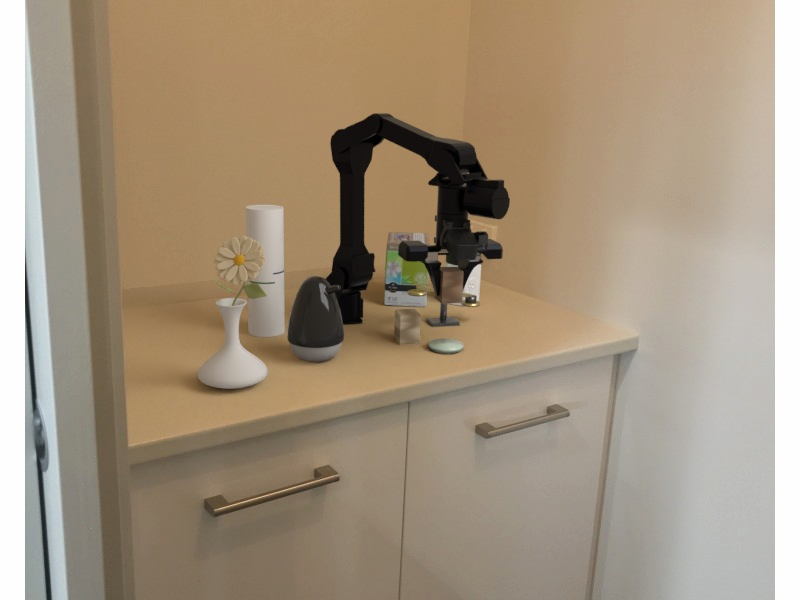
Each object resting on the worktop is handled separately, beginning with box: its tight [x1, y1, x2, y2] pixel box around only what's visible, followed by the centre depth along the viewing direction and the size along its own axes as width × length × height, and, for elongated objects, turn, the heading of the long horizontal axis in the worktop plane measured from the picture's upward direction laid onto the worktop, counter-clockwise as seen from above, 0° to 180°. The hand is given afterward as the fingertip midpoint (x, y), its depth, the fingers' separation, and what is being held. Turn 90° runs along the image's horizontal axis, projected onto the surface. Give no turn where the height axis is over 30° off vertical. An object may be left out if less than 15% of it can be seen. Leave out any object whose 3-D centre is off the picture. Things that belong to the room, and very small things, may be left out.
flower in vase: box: [197, 234, 269, 390], centre depth 125 cm, size 13×11×25 cm
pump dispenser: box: [286, 275, 345, 363], centre depth 139 cm, size 10×10×15 cm
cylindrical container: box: [245, 204, 286, 338], centre depth 152 cm, size 7×7×25 cm
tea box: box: [383, 231, 431, 308], centre depth 181 cm, size 15×10×15 cm, turn 179°
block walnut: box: [434, 266, 464, 305], centre depth 145 cm, size 4×4×6 cm
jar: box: [444, 255, 482, 307], centre depth 180 cm, size 9×8×12 cm
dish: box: [428, 338, 464, 355], centre depth 148 cm, size 7×7×1 cm
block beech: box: [393, 308, 422, 346], centre depth 151 cm, size 4×4×6 cm
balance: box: [408, 284, 481, 328], centre depth 163 cm, size 16×4×9 cm, turn 106°
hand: (448, 294), depth 145 cm, fingers closed on block walnut, 4 cm apart
